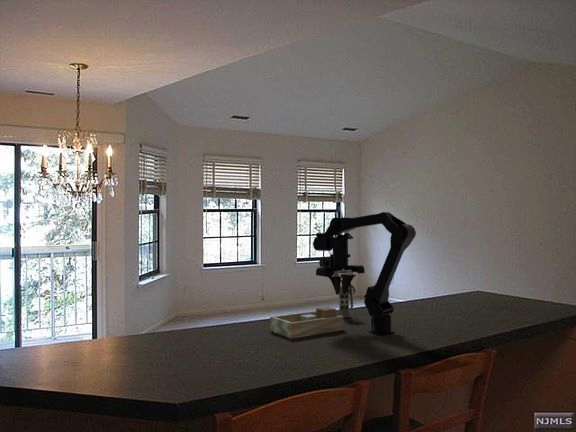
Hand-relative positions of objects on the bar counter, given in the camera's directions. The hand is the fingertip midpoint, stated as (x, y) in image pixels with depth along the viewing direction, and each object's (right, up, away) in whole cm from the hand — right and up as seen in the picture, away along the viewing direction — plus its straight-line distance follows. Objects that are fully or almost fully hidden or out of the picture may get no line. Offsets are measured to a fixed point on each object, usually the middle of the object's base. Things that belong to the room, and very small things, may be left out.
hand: (340, 294), depth 186 cm
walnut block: (-6, -10, -4) cm, 12 cm away
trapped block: (-12, -12, -1) cm, 17 cm away
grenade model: (+5, -12, +18) cm, 22 cm away
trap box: (-13, -12, -5) cm, 18 cm away
